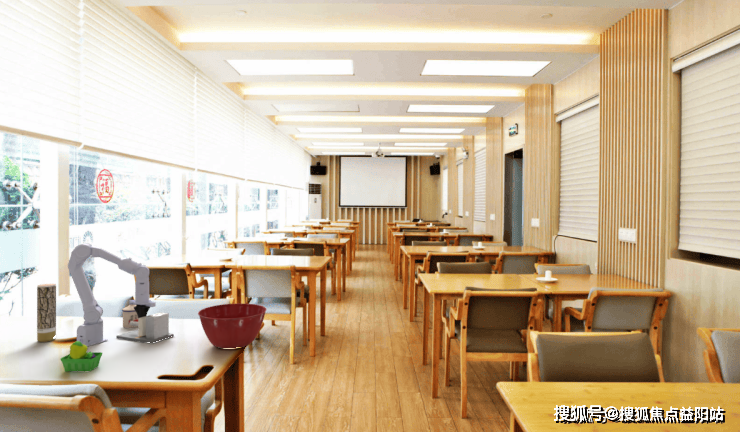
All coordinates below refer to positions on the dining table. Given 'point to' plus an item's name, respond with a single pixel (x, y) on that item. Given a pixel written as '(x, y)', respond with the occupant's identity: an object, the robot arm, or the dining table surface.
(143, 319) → the collar
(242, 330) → the mixing bowl
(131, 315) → the teacup with lid
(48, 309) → the paper tube
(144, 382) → the dining table surface
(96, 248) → the robot arm
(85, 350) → the fruit basket
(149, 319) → the pipe stand
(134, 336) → the base plate
